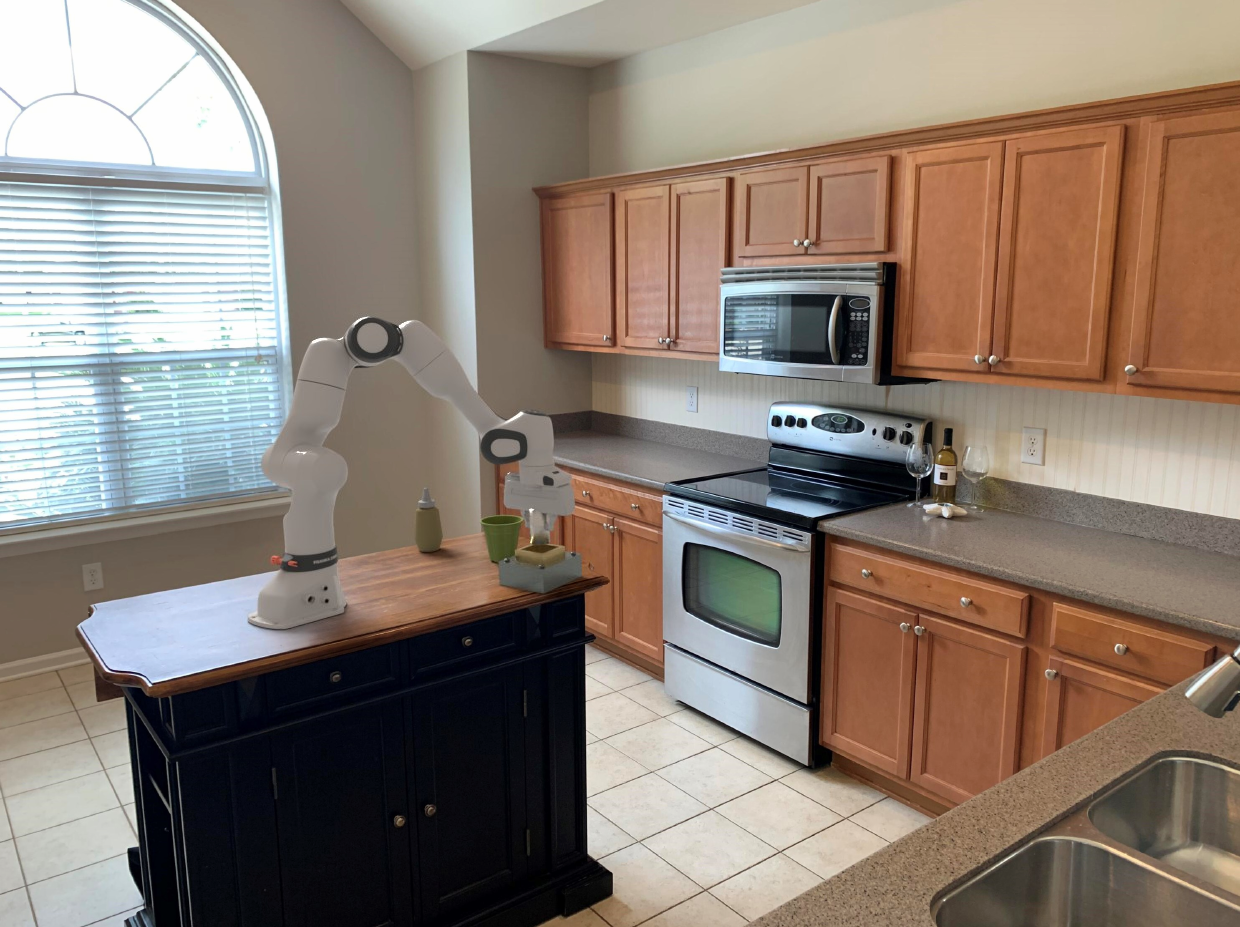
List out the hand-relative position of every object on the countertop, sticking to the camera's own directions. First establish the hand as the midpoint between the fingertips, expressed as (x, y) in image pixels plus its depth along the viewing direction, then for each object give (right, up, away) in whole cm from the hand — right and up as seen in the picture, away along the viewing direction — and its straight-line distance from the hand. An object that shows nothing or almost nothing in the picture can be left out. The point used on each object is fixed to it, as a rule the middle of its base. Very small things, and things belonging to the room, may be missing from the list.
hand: (539, 528), depth 239 cm
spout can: (0, -4, +1) cm, 4 cm away
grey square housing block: (0, -13, +2) cm, 14 cm away
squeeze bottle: (-34, -9, +33) cm, 48 cm away
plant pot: (-12, -10, +22) cm, 27 cm away
